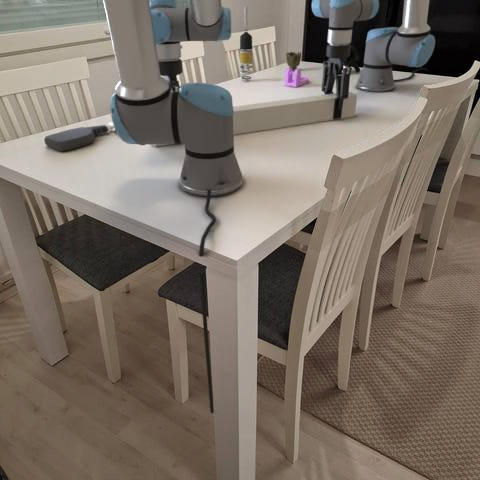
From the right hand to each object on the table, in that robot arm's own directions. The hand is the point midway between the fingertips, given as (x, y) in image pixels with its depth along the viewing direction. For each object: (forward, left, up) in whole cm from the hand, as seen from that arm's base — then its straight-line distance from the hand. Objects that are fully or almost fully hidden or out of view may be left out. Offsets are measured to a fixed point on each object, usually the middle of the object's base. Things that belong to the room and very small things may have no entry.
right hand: (332, 115), depth 155 cm
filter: (-34, -55, 0) cm, 65 cm away
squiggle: (-73, -21, 0) cm, 76 cm away
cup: (-64, -46, 0) cm, 79 cm away
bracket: (-40, -32, 0) cm, 51 cm away
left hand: (+45, -33, 0) cm, 56 cm away
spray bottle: (+58, -58, 0) cm, 82 cm away
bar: (+23, -16, 0) cm, 28 cm away
